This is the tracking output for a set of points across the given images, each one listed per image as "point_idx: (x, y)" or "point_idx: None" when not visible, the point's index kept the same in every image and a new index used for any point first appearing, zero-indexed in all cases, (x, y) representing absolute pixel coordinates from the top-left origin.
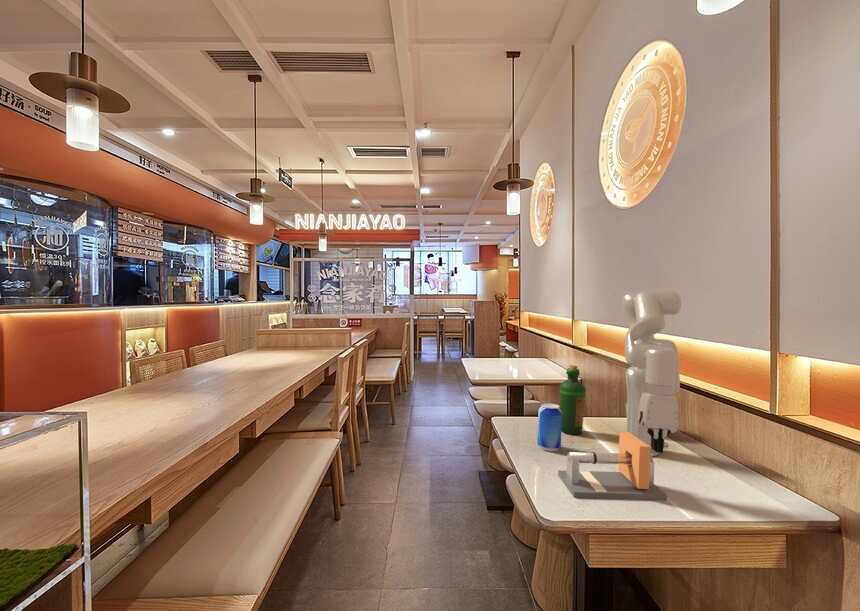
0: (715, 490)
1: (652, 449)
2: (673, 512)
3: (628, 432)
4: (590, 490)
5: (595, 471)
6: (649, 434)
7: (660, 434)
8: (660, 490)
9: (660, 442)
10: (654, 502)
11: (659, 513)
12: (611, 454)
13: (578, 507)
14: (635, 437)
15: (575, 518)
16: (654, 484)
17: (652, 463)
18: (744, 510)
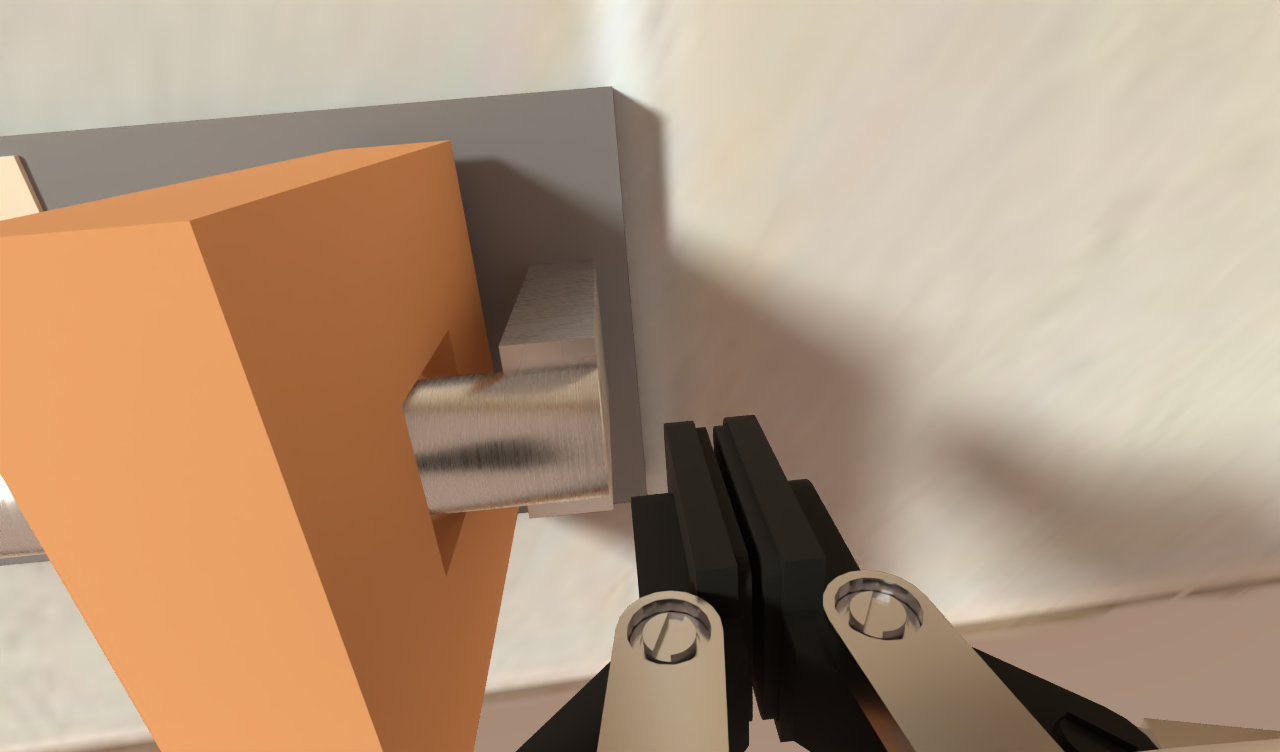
0: (1140, 273)
1: (665, 439)
2: (607, 610)
3: (163, 238)
4: None
5: (95, 132)
6: (588, 703)
7: (846, 733)
8: (631, 447)
9: (752, 673)
10: (541, 521)
11: (515, 631)
12: (22, 543)
13: (15, 649)
14: (292, 588)
15: (10, 744)
16: (633, 349)
17: (590, 503)
18: (1071, 525)
